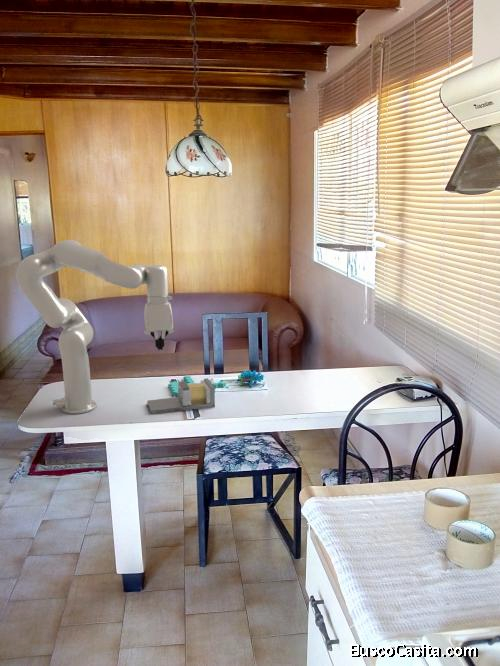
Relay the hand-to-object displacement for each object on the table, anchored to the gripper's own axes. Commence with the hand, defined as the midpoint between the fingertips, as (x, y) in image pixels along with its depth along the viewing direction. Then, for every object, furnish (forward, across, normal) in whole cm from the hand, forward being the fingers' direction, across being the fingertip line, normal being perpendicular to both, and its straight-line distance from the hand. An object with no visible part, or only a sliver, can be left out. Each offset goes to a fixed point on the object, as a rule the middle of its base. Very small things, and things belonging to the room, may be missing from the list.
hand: (160, 348), depth 206 cm
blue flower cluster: (+23, -40, -15) cm, 49 cm away
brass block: (+22, -13, 0) cm, 25 cm away
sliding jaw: (+21, -9, 0) cm, 23 cm away
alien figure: (+24, -15, -17) cm, 33 cm away
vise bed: (+23, -7, 0) cm, 24 cm away
